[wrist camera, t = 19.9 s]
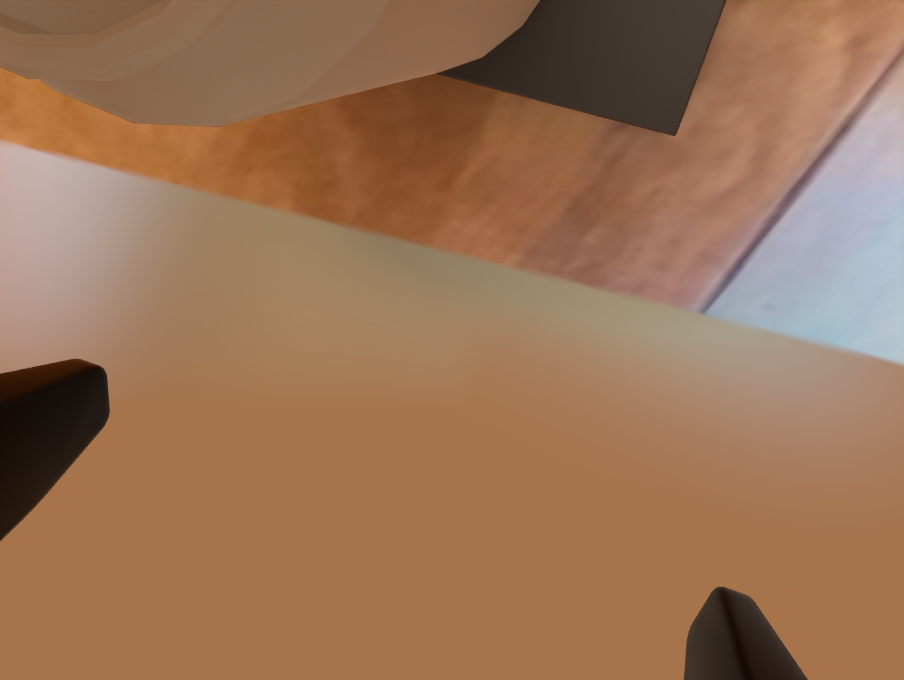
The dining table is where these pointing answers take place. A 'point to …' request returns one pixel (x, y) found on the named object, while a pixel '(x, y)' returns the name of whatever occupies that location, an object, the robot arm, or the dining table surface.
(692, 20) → the dark grey flat block
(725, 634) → the robot arm
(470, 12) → the can
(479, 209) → the dining table surface
